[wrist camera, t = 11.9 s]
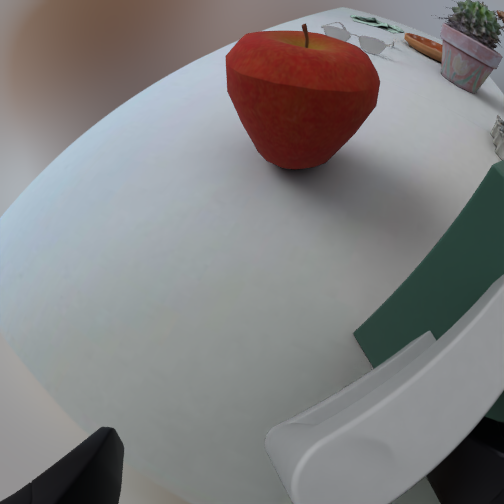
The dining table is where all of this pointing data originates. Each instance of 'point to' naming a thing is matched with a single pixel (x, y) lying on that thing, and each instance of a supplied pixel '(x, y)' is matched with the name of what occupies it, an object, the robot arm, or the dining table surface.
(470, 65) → the potted plant
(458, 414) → the cooler door
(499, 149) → the egg carton
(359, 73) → the apple
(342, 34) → the eyeglasses
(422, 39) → the saucer
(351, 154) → the dining table surface
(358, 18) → the cloth
